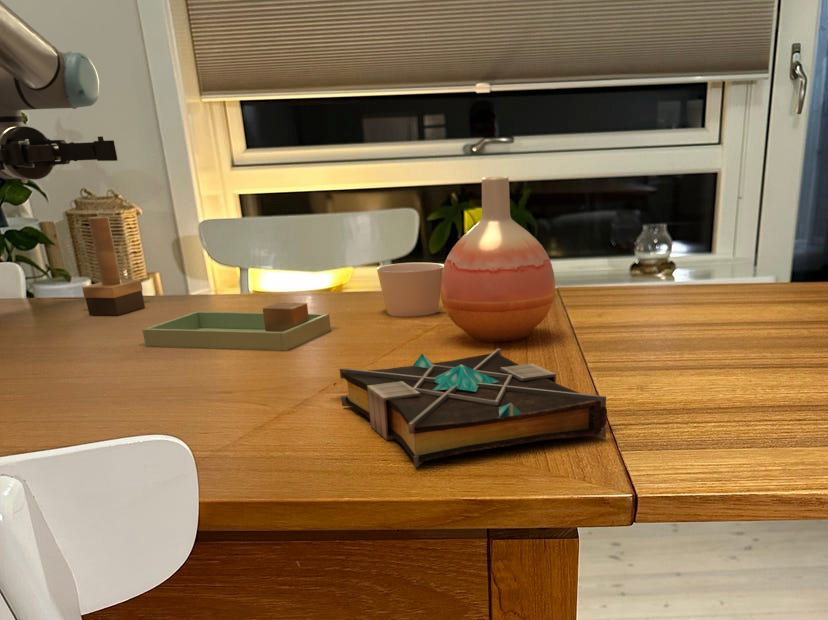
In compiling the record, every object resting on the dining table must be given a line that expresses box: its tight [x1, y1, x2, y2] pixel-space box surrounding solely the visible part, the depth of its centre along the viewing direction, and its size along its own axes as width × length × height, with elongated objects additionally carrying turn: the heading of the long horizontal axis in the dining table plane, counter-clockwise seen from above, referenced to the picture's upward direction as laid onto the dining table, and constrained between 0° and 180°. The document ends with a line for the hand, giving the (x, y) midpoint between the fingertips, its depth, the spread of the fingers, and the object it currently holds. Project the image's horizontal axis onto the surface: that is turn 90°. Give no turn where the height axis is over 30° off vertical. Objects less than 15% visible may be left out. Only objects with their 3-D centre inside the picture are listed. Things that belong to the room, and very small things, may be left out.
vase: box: [440, 176, 556, 343], centre depth 112 cm, size 14×14×18 cm
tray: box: [142, 310, 332, 352], centre depth 118 cm, size 19×12×3 cm, turn 73°
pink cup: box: [376, 262, 444, 318], centre depth 130 cm, size 9×9×6 cm
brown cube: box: [262, 302, 309, 332], centre depth 116 cm, size 4×4×4 cm
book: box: [339, 348, 608, 468], centre depth 83 cm, size 22×17×5 cm
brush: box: [81, 216, 146, 317], centre depth 141 cm, size 5×7×13 cm
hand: (67, 152), depth 138 cm, fingers open, 13 cm apart
